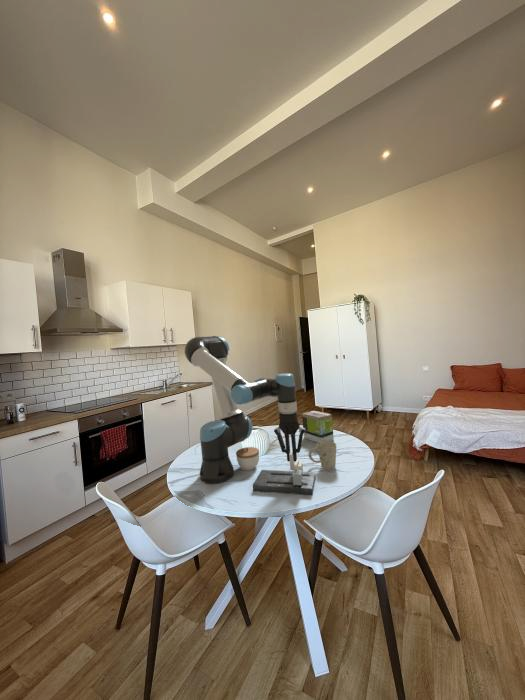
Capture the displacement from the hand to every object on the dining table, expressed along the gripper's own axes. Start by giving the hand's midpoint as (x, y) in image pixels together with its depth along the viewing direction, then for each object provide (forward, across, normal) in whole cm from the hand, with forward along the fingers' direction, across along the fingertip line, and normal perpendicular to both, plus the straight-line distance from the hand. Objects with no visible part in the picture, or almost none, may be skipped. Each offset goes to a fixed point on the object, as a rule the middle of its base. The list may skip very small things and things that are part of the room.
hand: (292, 468), depth 114 cm
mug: (+5, +11, +14) cm, 19 cm away
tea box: (+5, +6, +49) cm, 50 cm away
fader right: (+2, +3, -7) cm, 8 cm away
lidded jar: (+5, -23, +10) cm, 26 cm away
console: (+5, -3, -3) cm, 7 cm away
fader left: (+2, +2, 0) cm, 3 cm away
